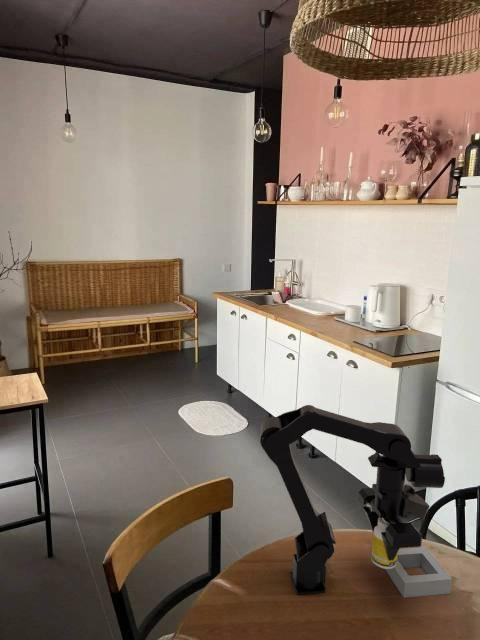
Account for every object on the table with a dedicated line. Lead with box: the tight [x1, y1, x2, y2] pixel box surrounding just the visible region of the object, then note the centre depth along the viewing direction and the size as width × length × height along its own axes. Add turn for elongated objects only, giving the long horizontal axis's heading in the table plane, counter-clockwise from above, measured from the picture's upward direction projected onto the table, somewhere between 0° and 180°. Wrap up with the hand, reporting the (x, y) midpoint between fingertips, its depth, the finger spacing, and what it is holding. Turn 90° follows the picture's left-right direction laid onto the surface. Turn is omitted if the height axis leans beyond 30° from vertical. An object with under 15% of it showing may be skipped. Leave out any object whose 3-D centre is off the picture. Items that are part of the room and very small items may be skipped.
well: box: [384, 546, 453, 599], centre depth 107 cm, size 11×11×4 cm
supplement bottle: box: [370, 517, 398, 570], centre depth 102 cm, size 5×5×10 cm
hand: (384, 551), depth 102 cm, fingers closed on supplement bottle, 5 cm apart
